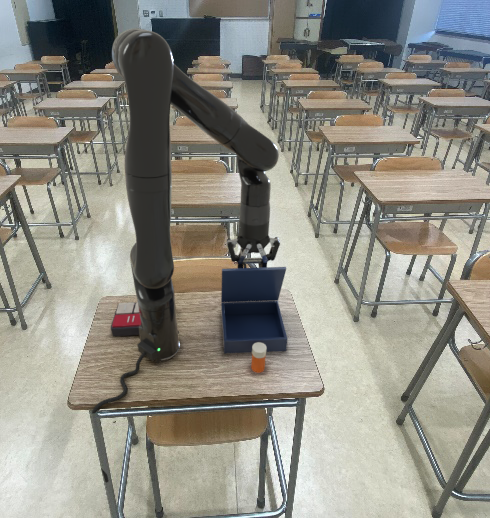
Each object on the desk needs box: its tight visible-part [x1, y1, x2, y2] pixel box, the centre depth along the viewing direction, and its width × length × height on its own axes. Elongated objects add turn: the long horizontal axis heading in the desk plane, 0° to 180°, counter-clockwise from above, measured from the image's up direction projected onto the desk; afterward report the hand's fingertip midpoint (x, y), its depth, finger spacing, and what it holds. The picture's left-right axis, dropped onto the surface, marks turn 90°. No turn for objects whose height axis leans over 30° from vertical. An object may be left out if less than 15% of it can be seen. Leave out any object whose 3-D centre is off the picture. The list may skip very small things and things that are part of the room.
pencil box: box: [220, 300, 288, 354], centre depth 111 cm, size 16×17×5 cm
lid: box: [220, 257, 287, 303], centre depth 110 cm, size 16×17×5 cm
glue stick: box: [250, 342, 267, 374], centre depth 99 cm, size 4×4×8 cm
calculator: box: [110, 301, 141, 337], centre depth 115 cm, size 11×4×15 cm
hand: (251, 271), depth 107 cm, fingers closed on lid, 5 cm apart
